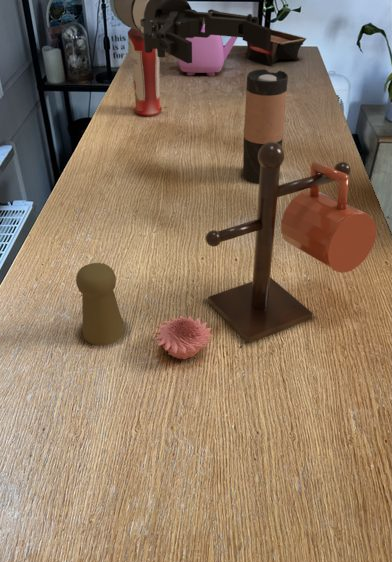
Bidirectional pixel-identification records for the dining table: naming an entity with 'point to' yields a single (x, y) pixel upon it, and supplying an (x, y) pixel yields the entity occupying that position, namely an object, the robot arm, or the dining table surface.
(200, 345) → the flower
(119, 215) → the dining table surface
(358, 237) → the mug
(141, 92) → the liquor
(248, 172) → the travel mug
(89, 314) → the olive brown pawn
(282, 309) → the mug tree
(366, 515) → the dining table surface
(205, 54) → the teapot
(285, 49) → the dark brown boxy piece
